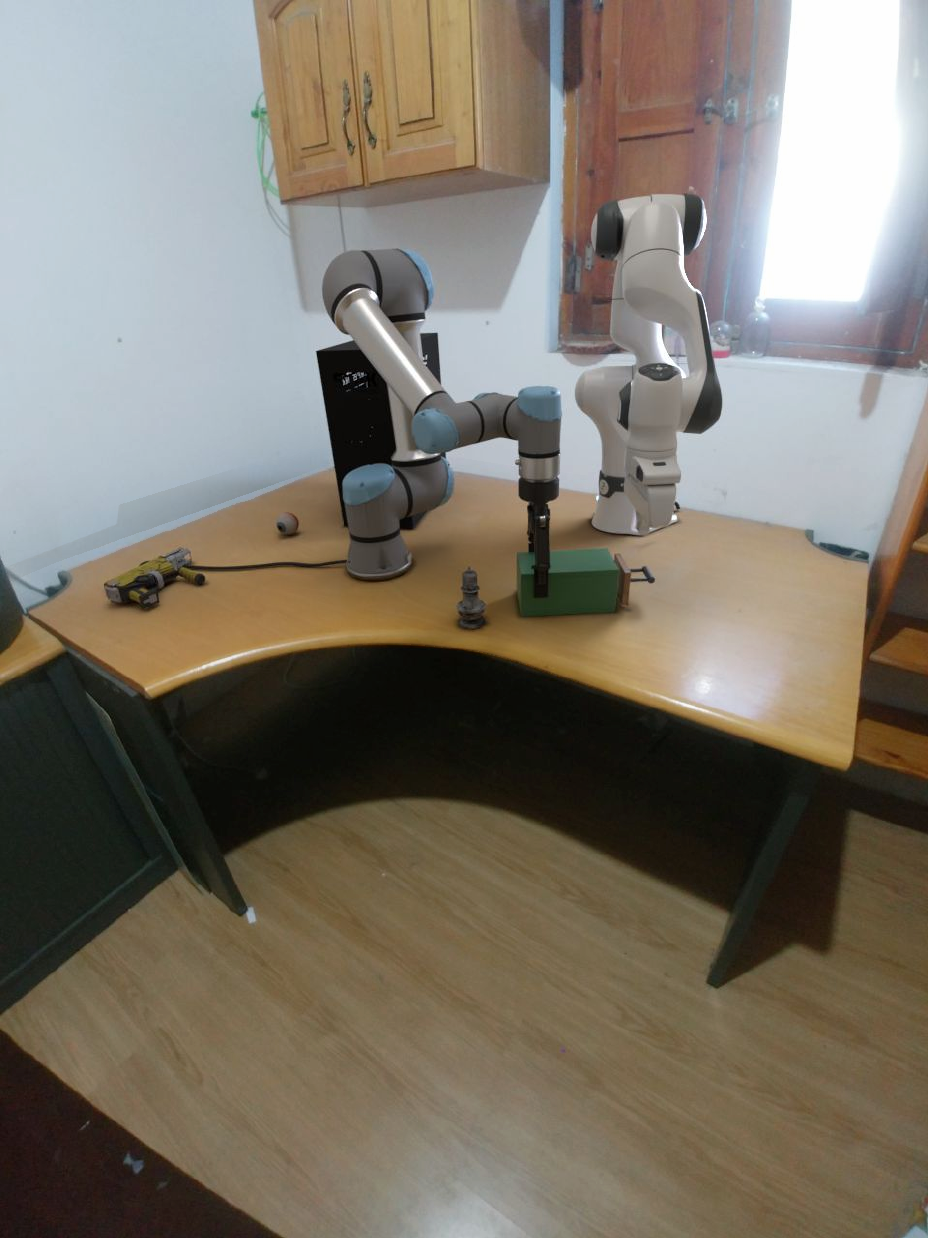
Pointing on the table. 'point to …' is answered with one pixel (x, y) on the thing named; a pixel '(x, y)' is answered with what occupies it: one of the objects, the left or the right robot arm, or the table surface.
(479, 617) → the grey chess piece
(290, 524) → the eyeball
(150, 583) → the toy gun
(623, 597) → the drawer
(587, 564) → the cabinet
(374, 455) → the cardboard box
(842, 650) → the table surface
